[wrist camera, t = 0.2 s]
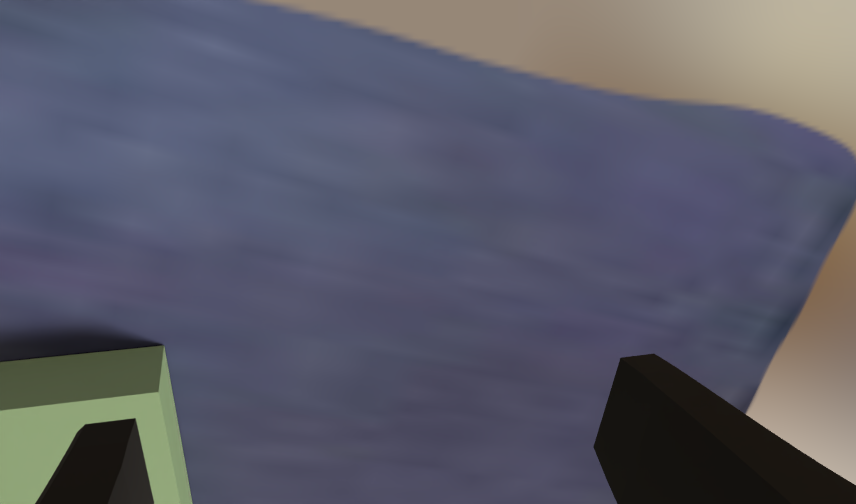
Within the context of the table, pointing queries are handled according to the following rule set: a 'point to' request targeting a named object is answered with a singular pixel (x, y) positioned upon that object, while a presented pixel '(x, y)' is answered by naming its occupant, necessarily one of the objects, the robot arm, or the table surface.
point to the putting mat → (87, 417)
